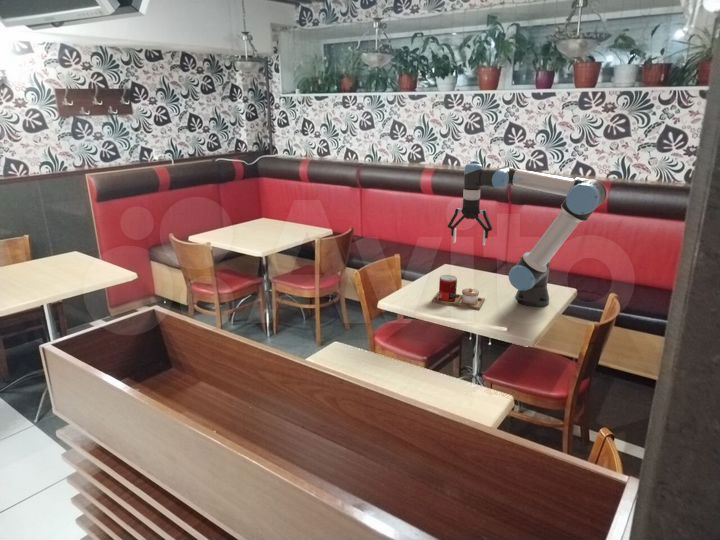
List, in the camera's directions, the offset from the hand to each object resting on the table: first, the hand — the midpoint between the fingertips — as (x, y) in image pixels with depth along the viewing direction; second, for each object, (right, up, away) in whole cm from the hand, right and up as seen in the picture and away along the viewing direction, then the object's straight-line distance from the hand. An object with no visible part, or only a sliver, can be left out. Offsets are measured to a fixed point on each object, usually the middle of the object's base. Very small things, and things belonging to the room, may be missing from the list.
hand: (469, 243), depth 249 cm
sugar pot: (-1, -27, -4) cm, 28 cm away
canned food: (-10, -26, 0) cm, 28 cm away
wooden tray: (-5, -28, -1) cm, 28 cm away
